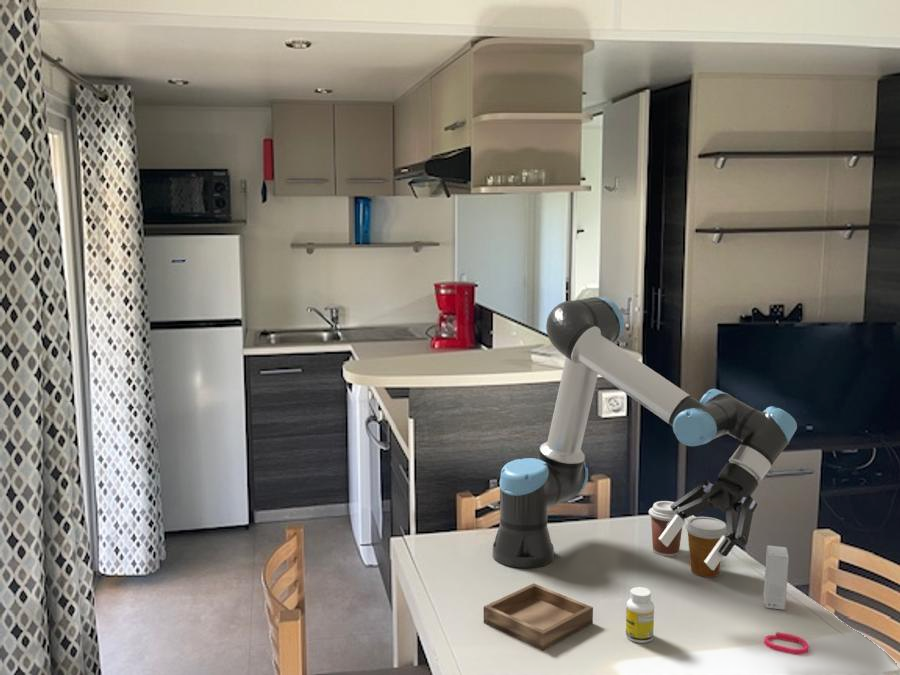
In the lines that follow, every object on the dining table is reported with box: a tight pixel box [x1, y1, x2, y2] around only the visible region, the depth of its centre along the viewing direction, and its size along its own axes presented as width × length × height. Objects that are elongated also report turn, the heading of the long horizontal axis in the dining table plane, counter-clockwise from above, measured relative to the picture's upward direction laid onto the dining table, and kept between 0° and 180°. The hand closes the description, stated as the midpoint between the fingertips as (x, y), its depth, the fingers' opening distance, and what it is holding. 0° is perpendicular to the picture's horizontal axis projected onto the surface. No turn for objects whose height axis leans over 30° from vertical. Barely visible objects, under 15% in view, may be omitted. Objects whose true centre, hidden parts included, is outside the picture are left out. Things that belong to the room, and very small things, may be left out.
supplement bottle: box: [625, 586, 655, 644], centre depth 172 cm, size 5×5×10 cm
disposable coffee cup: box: [685, 516, 727, 578], centre depth 203 cm, size 10×10×12 cm
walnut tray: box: [483, 583, 594, 651], centre depth 178 cm, size 16×16×4 cm
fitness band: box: [763, 631, 810, 655], centre depth 169 cm, size 8×6×2 cm
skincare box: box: [763, 545, 790, 611], centre depth 186 cm, size 6×4×12 cm
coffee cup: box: [648, 500, 683, 557], centre depth 215 cm, size 9×9×12 cm
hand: (684, 554), depth 175 cm, fingers open, 13 cm apart
